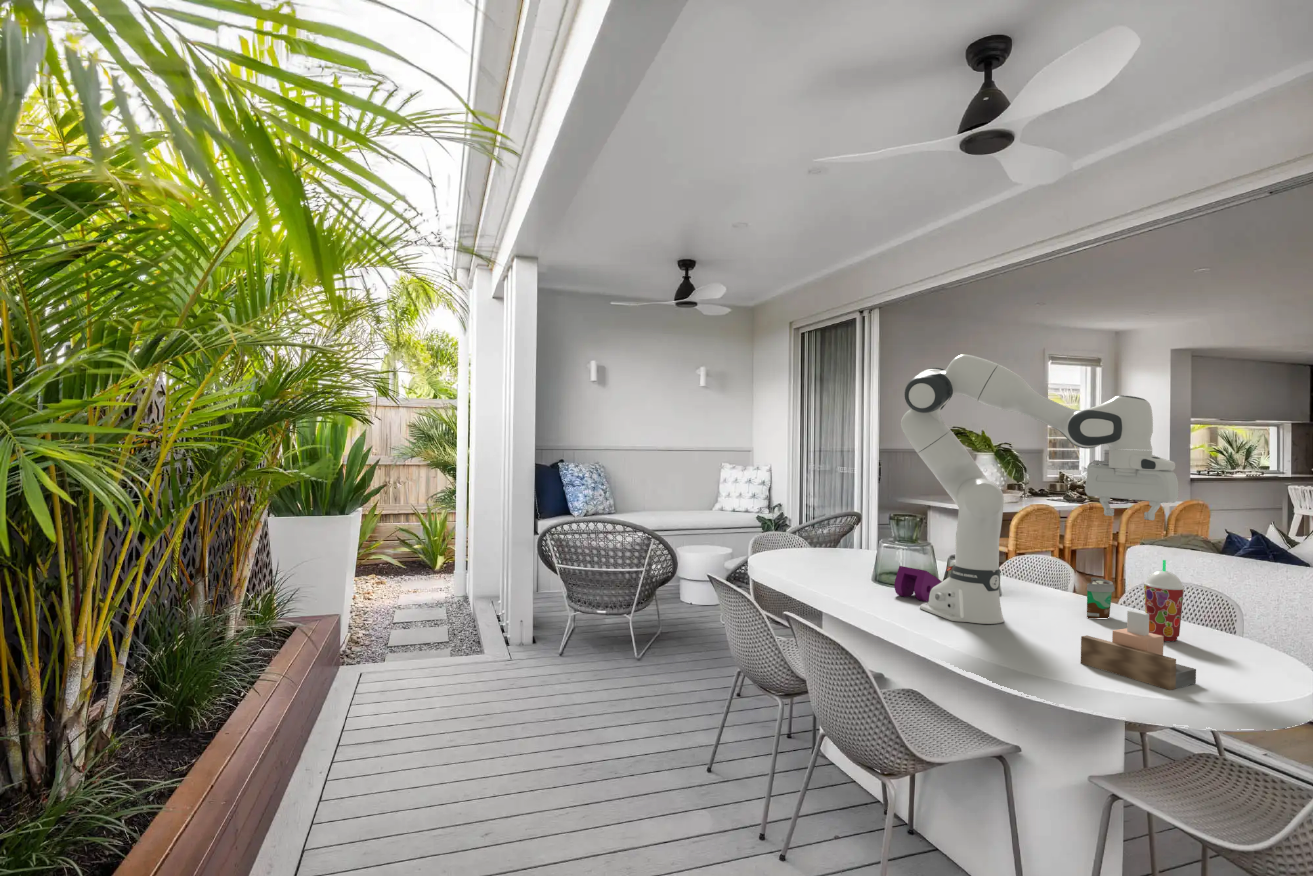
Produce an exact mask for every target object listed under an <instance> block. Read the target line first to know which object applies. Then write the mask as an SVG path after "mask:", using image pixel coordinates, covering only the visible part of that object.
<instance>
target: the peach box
mask: <svg viewBox="0 0 1313 876" xmlns="http://www.w3.org/2000/svg"><path fill="white" fill-rule="evenodd" d="M1126 619H1127V620H1126V621H1127V622H1126V628H1120V629H1113V630H1112V641H1111V642H1114V643H1117V644H1121V645H1125V646H1129V647H1133V648H1136V649H1140V650H1144V651H1148V652H1152V653H1155V654H1159V655H1163V656H1164V641H1163V639H1164V636H1161V635H1157V634H1153V633H1149V614H1147V613H1145V612H1142V611H1137V610H1133V609H1132V610H1131V609H1130V610H1127V618H1126Z"/></svg>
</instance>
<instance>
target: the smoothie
mask: <svg viewBox="0 0 1313 876" xmlns="http://www.w3.org/2000/svg"><path fill="white" fill-rule="evenodd" d="M1166 565H1167V560H1166V559H1162V570H1156V571H1154V572H1151V573H1150V574H1149V575H1148V576H1147V578H1146V580H1145V581H1144V582H1143V590H1144V608H1145V609H1144V611H1145V612H1144V613H1147V614H1149V633H1153V634H1157V635H1161V636H1164V639H1163V642H1166V641H1174V642H1177V640H1178V637H1180V632H1181V624H1182V623H1181V622H1182V613H1183V601H1184V591H1185V586H1184V585H1183V584H1182V582H1181V580H1180V578H1179V577H1178V576H1177V575H1176V574H1174V573H1173V572H1170V571H1168V570H1166V569H1167V566H1166Z"/></svg>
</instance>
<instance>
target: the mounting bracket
mask: <svg viewBox="0 0 1313 876" xmlns="http://www.w3.org/2000/svg"><path fill="white" fill-rule="evenodd" d="M942 581H943V580H941V579H939V578H938V577H936V576H934V575H933V574H931V573H930V572H929V571H928V570H924V569H919V568H914V567H907V566H902V565H899V566H898V569H897V572H896V576H895V579H894V591H895V593H896V594H897V596H899V597H900V596H901V597H904V598H909V597H912V595H913V594H914V595H915V598H916V599H917V600H918V601H921V602H925V603H927V602H929V595H930V591H931V589H932V588H933V587H934V586H936V585H938V584H939V583H941V582H942Z"/></svg>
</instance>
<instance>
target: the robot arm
mask: <svg viewBox="0 0 1313 876" xmlns="http://www.w3.org/2000/svg"><path fill="white" fill-rule="evenodd" d="M957 395H960V396H964V397H967V398H969V399H971V400H973V401H976V402H978V403H980V404H982V405H984V406H987V407H991V408H993V409H997V410H1001V411H1004V412H1010V413H1016V414H1021V415H1025V416H1028V417H1030V418H1033V419H1034V420H1037V421H1039V422H1041V423H1043V424H1046V425H1047V426H1050V427H1051V428H1054V429H1055V430H1057V431H1059V432H1060V433H1061V434H1062V436H1064V437H1065V438H1066V440H1067V441H1068V442H1069V443H1071V444H1072V445H1073V446H1075V447H1077V448H1080V449H1088V450H1089V449H1094V448H1098V447H1100V446H1101V445H1107V446H1108V447H1109V448H1108V460H1099V459H1097V460H1096V459H1095V460H1093V461H1090V462H1089V463H1088V465H1086V466H1087V468H1086V473H1087V474H1086V480H1085V486H1084V493H1085V494H1086V495H1087V496H1090V497H1098V498H1099V503H1100V504H1101V506H1102V508H1103V510H1104V511H1103V515H1104V516H1106V517H1109V516H1110V517H1112V516H1113V517H1114V515H1115V508H1112V507H1111V505H1110V503H1109V502H1111V498H1112V499H1120V500H1121V499H1123V500H1134V501H1144V502H1145V501H1147V502H1149V503H1148V504H1149V506H1150V508H1149V510H1148V511H1145V512H1143V513H1144V514H1143V519H1144V520H1146V521H1155V517H1156V513H1157V511H1158V510H1159V508H1160V507H1161V505H1162V504H1161V503H1175V502H1176V501H1177V500H1178V499H1179V491H1180V490H1179V489H1180V488H1179V480H1178V477H1177V475H1176V473H1175V472H1174V470H1176V463H1175V461H1173V460H1169V459H1166V458H1163V457H1161V456H1156V455H1155V454H1153V446H1152V443H1151V440H1152V436H1153V433H1154V422H1153V421H1154V420H1153V419H1154V418H1153V410H1152V406H1151V403H1150V402H1149V401H1148V400H1147V399H1145V398H1143V397H1138V396H1132V395H1121V394H1120V395H1115V396H1114V397H1112V398H1111V399H1109V400H1107V401H1105V402H1102V403H1100V404H1098V405H1095V406H1093V407H1089V408H1085V409H1073V408H1070V407H1067V406H1065V405H1064V404H1061V403H1059V402H1056V401H1054V400H1052V399H1049V398H1048V397H1046V396H1043V395H1041V394H1040V393H1038V391H1036V390H1034V389H1033V387H1031V385H1029V383H1028V382H1027V381H1026V380H1025V378H1023V377H1022V376H1021V375H1019V374H1018V373H1016V372H1014V371H1012V370H1011V369H1009V368H1007V367H1005V366H1004V365H1001V364H999V363H997V362H994V361H992V360H989V359H986V358H983V357H979V356H976V355H972V354H960V355H957V356H956V357H954V358H953V359H952V360H951V361H950V363H949V364H948V365H947V367H946V369H945V368H940V367H932V368H931V367H930V368H928V369H925V370H923V371H920V372H918V373H917V374H915V376H914V377H912V378H911V379H910V380H909V381H908V383H907V384H906V386H905V388H904V399H905V403H906V404H907V406H908V407H909V408H910V409H909V410H907V411H906V412H905V413H904V414H903V416H902V418H901V421H900V428H901V430H902V432H903V434H904V436H905V438H906V439H907V441H908V442H909V443H910V445H911V447H912V448H913V450H914V451H915V452H916V453H917V455H918V456H919V457H920V459H921V460H922V461H923V463H924V464H925V466H927V468H928V469H929V470H930V471H931V473H932V474H933V475H934V476H935V478H936V479H937V481H938V482H939V483H940V485H941V486H942V488H943V489H944V491H946V493H947V494H948V495H949V497H950V498H951V499H952V500H953V501H954V504H955V505H956V506H957V507H958V513H957V514H958V515H957V524H956V532H955V548H954V549H955V551H954V553H955V555H954V561H955V562H954V564H953V565H951V566H946V571H947V572H950V573H949V576H948V577H947V578H946V579H944V580H941V581H942V582H941V583H939V584H938V585H936V586H934V587H933V588H932V589H931V591H930V595H929V601H927V602H923V603H921V604H920V605H919V609H920V610H922V611H923V610H924V611H926V612H929V613H931V614H933V615H936V616H939V617H941V618H944V619H946V620H948V621H952V622H961V623H962V622H965V623H971V624H988V625H990V624H991V625H993V624H995V625H996V624H1002V623H1004V622H1005V618H1004V615H1003V611H1002V606H1001V598H1000V584H1001V569H1000V567H999V565H1000V563H999V561H1000V537H1001V533H1002V532H1001V531H1002V523H1003V515H1004V514H1003V513H1004V504H1005V503H1004V502H1005V499H1004V497H1005V496H1004V493H1003V491H1002V489H1001V487H999V485H997V484H996V483H995V482H993V480H990V479H988V477H987V476H986V475H985V474H984V472H983V471H982V469H981V468H980V466H979V465H978V464H977V463H976V461H975V460H974V458H973V457H972V456H971V454H970V452H969V451H968V450H967V448H966V447H965V446H964V444H963V443H962V442H961V441H960V440H959V439H958V437H957V436H956V434H954V432H953V431H952V430H951V429H950V427H949V426H948V425H947V424H946V422H945V421H944V420H943V418H942V416H941V410H943V408H944V407H945V406H946V404H947V403H948V402H949V401H950V400H951V398H952V397H953V396H957Z"/></svg>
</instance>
